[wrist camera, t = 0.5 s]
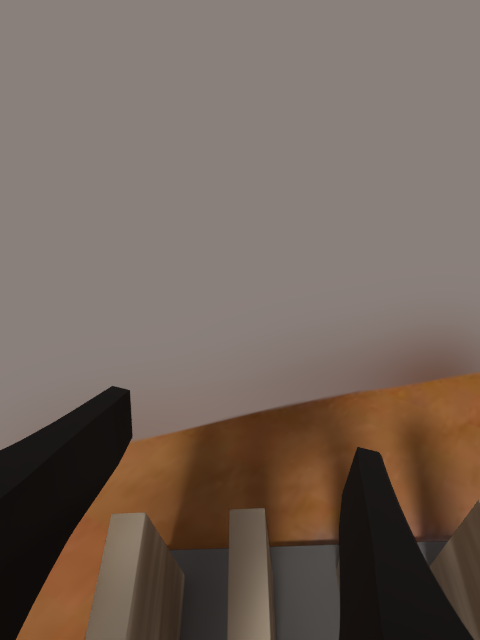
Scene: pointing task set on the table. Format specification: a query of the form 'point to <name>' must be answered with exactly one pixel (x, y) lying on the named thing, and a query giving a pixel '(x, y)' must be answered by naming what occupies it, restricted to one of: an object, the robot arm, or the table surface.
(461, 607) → the domino
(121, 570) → the domino
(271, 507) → the table surface
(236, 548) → the domino
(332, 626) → the grey flat rectangular board
